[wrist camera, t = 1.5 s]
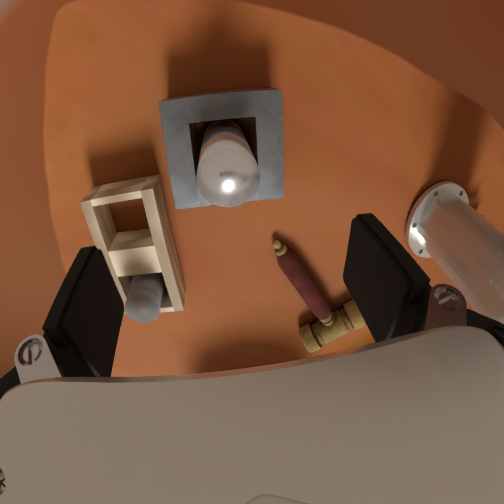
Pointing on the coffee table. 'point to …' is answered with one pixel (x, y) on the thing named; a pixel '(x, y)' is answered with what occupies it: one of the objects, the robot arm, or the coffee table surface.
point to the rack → (138, 248)
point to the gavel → (316, 304)
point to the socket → (216, 108)
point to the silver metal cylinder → (226, 166)
